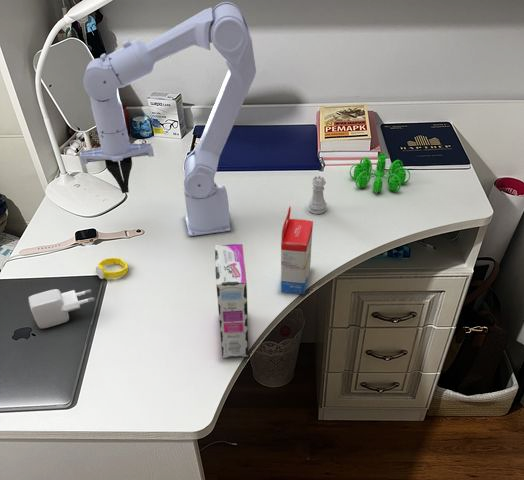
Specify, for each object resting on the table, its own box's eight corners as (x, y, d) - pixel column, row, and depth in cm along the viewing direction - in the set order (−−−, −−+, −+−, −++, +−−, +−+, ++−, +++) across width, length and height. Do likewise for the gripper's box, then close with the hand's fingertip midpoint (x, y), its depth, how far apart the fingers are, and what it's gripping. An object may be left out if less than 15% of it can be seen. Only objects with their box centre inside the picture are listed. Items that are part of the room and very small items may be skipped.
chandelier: (345, 193, 133) (348, 167, 128) (352, 165, 143) (355, 140, 138) (407, 199, 130) (412, 173, 125) (409, 170, 140) (414, 144, 135)
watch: (132, 263, 110) (107, 273, 107) (133, 274, 112) (109, 284, 109) (115, 252, 113) (90, 261, 110) (116, 263, 115) (92, 272, 112)
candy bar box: (250, 357, 94) (247, 283, 82) (222, 359, 94) (214, 285, 82) (246, 315, 102) (243, 242, 90) (220, 317, 101) (213, 243, 90)
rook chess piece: (304, 212, 127) (306, 181, 121) (311, 203, 130) (312, 172, 124) (323, 216, 125) (325, 184, 120) (328, 206, 128) (331, 175, 123)
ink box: (304, 295, 105) (307, 231, 95) (280, 292, 106) (280, 228, 96) (310, 269, 111) (314, 206, 101) (287, 267, 112) (288, 204, 101)
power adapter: (94, 300, 105) (86, 276, 101) (99, 315, 102) (92, 291, 98) (36, 317, 102) (25, 293, 98) (39, 333, 99) (29, 309, 95)
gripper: (73, 140, 102) (91, 204, 112) (150, 132, 104) (160, 195, 114) (74, 125, 107) (90, 187, 117) (147, 117, 109) (157, 179, 119)
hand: (125, 190), depth 116 cm, fingers closed
